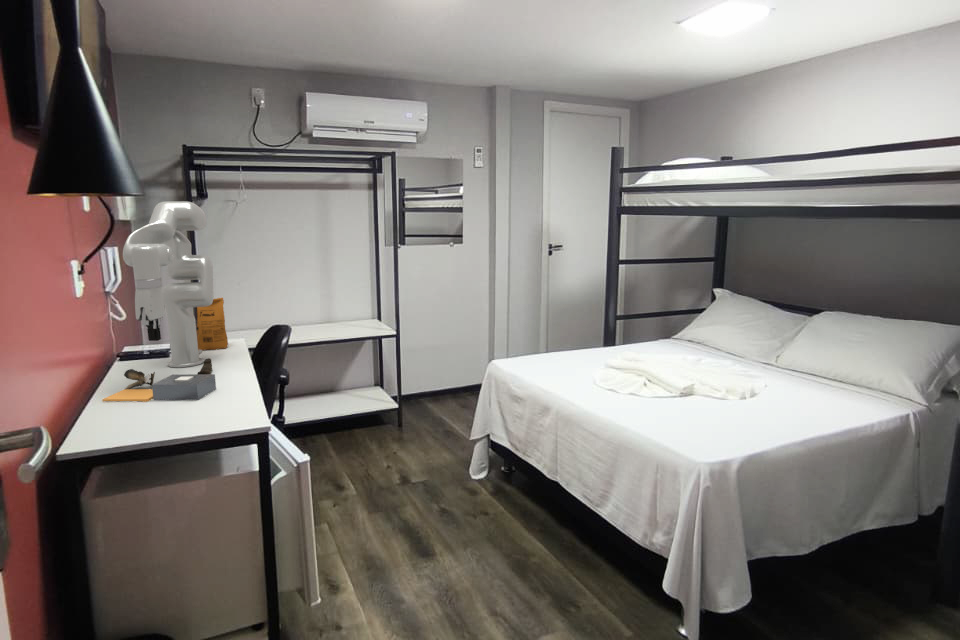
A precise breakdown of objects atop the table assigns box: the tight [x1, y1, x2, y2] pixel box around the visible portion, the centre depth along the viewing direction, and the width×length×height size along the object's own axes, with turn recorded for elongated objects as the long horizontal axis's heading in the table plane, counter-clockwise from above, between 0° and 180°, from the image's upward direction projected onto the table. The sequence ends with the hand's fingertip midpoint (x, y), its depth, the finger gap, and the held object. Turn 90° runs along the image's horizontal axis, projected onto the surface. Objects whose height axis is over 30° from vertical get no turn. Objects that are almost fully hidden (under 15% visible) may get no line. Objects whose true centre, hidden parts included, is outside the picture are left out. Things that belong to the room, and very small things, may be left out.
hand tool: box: [197, 357, 213, 374], centre depth 212 cm, size 19×4×5 cm, turn 16°
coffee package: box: [196, 297, 229, 352], centre depth 255 cm, size 10×12×22 cm
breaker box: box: [151, 373, 217, 401], centre depth 187 cm, size 12×14×5 cm
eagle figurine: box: [123, 368, 156, 389], centre depth 195 cm, size 8×7×9 cm
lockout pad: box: [102, 388, 153, 403], centre depth 186 cm, size 11×14×1 cm
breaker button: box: [175, 376, 194, 381], centre depth 187 cm, size 4×4×4 cm
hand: (154, 340), depth 192 cm, fingers closed
